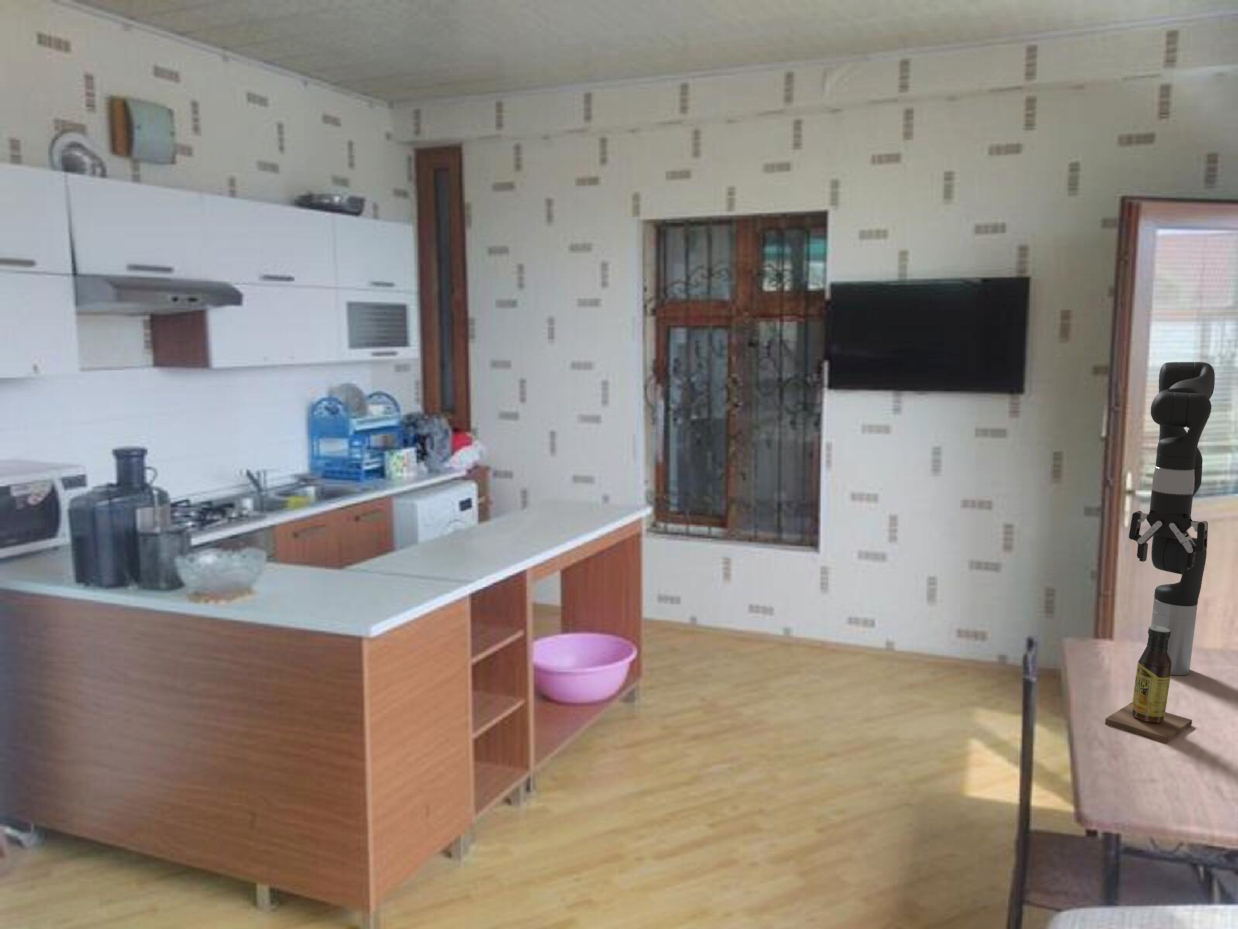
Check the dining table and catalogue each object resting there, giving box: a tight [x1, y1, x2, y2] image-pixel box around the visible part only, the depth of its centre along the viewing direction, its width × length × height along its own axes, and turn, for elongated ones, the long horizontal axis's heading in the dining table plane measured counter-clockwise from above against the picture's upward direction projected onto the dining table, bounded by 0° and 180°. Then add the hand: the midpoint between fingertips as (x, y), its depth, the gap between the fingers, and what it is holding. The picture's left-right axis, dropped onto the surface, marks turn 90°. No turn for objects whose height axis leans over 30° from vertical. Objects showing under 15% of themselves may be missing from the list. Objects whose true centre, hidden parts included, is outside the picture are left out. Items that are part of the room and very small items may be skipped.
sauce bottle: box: [1131, 625, 1172, 723], centre depth 204 cm, size 6×6×20 cm
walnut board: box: [1104, 702, 1193, 744], centre depth 205 cm, size 14×12×1 cm
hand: (1164, 565), depth 205 cm, fingers open, 8 cm apart
